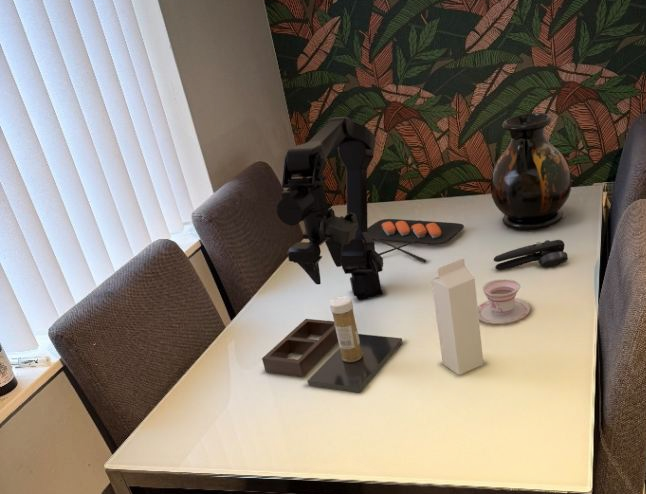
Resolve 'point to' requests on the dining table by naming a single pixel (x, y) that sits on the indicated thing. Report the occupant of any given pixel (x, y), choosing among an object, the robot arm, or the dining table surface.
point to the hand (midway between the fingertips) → (328, 275)
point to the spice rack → (301, 348)
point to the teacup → (502, 303)
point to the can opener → (534, 255)
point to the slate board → (356, 365)
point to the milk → (457, 317)
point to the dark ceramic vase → (530, 176)
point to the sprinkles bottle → (346, 328)
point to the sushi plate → (413, 233)
